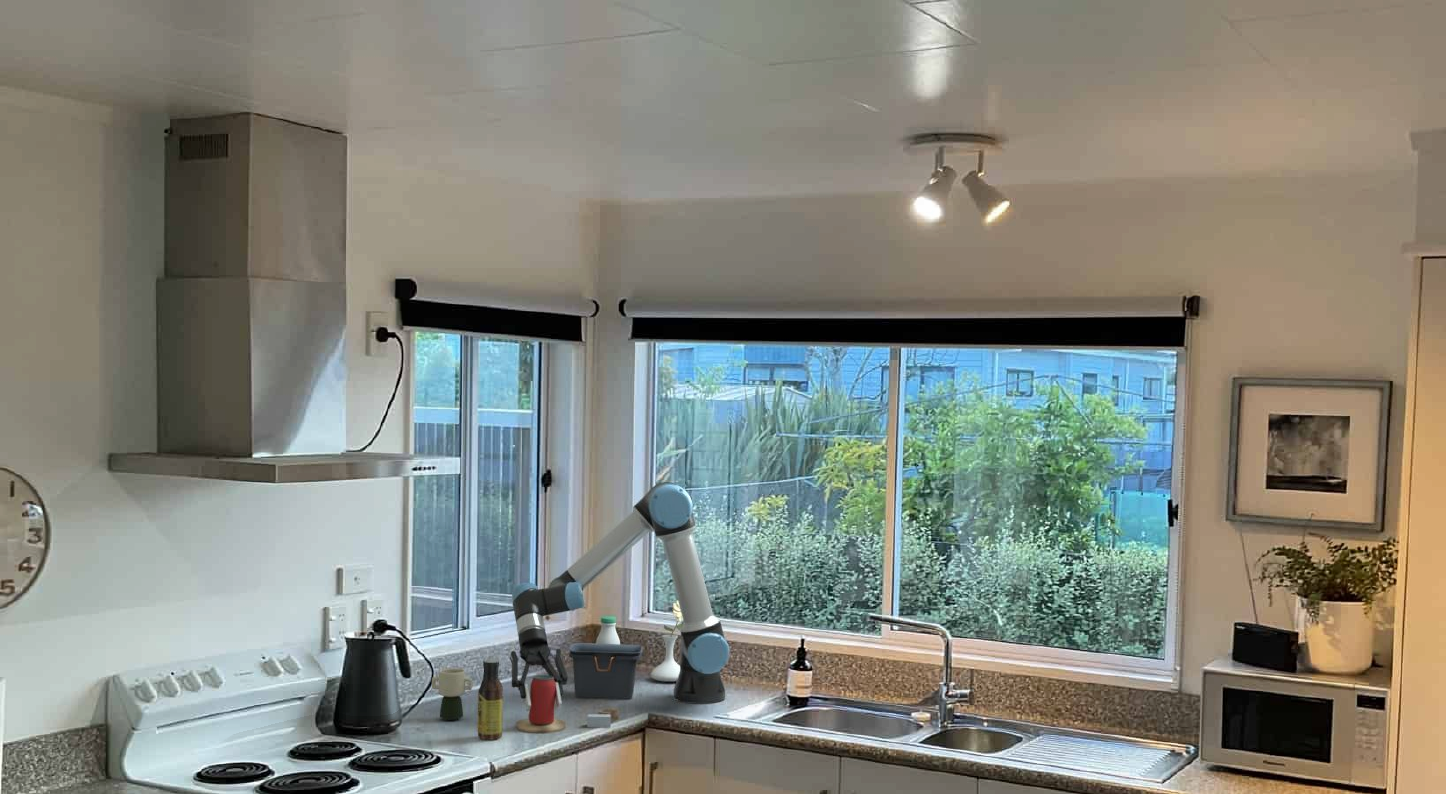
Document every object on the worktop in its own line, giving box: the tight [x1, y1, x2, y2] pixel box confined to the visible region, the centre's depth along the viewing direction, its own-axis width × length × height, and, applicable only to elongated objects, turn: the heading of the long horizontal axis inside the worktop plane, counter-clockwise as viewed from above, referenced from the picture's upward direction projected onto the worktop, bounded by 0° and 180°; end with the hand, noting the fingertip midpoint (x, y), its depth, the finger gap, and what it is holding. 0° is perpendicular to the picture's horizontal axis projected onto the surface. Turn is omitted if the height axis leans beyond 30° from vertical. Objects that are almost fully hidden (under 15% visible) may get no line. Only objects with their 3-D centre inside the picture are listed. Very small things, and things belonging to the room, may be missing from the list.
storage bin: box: [567, 642, 644, 700], centre depth 400 cm, size 21×16×14 cm
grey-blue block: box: [587, 713, 612, 729], centre depth 364 cm, size 6×3×3 cm, turn 96°
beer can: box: [528, 674, 556, 725], centre depth 362 cm, size 7×7×12 cm
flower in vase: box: [650, 600, 683, 683], centre depth 425 cm, size 13×11×25 cm
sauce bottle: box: [477, 658, 504, 741], centre depth 349 cm, size 7×6×20 cm
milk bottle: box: [595, 615, 621, 644], centre depth 420 cm, size 8×8×20 cm
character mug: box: [431, 667, 473, 721], centre depth 369 cm, size 11×7×13 cm, turn 87°
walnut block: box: [597, 707, 620, 723], centre depth 371 cm, size 6×3×3 cm, turn 157°
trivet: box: [515, 717, 567, 734], centre depth 362 cm, size 13×13×1 cm
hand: (544, 706), depth 359 cm, fingers open, 7 cm apart
